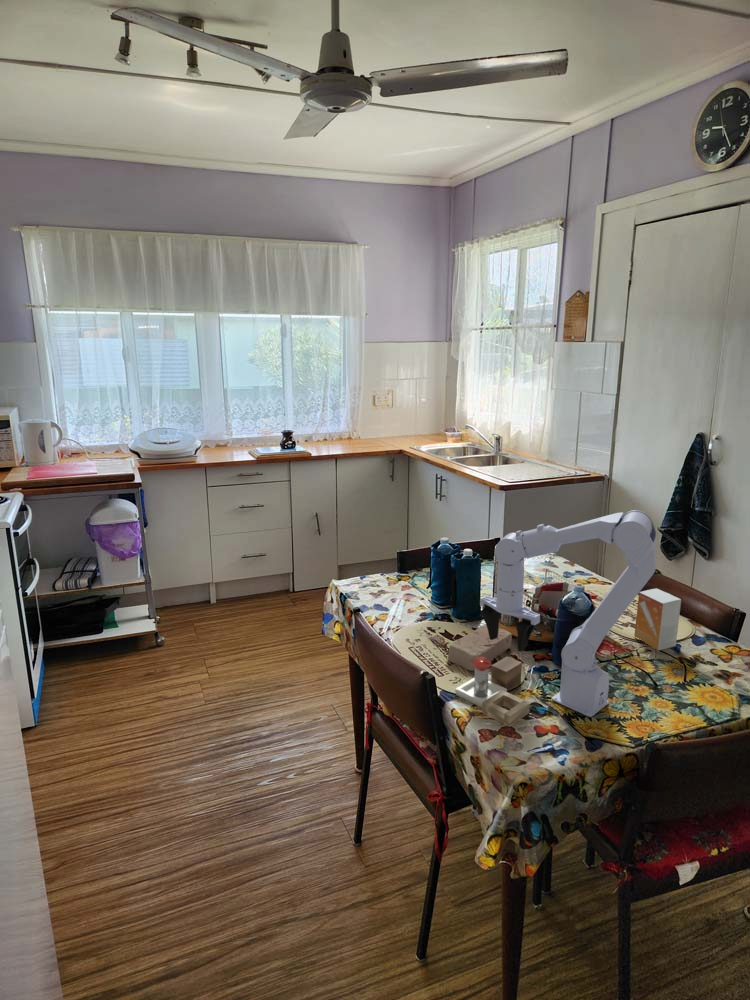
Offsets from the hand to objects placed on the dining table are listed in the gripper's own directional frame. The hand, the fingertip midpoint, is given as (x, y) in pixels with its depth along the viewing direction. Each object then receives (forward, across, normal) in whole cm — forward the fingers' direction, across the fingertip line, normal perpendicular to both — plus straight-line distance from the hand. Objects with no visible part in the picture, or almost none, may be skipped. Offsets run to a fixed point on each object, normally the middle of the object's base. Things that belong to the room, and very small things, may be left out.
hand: (507, 643), depth 144 cm
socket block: (+10, -7, +10) cm, 16 cm away
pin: (+9, +1, +8) cm, 13 cm away
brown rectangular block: (+10, 0, 0) cm, 10 cm away
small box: (+10, -15, -44) cm, 48 cm away
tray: (+10, +1, +8) cm, 13 cm away
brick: (+10, +13, -7) cm, 18 cm away
